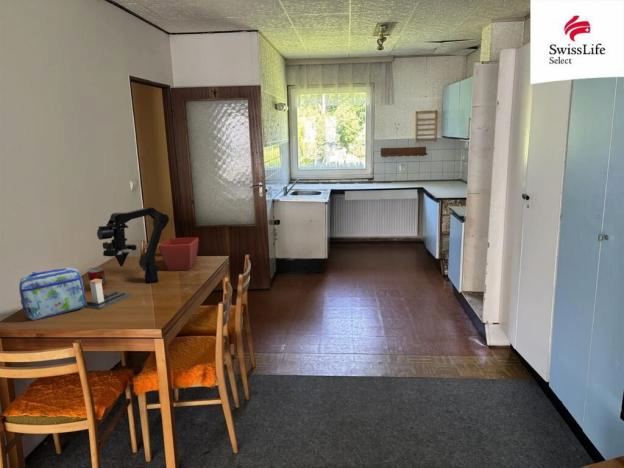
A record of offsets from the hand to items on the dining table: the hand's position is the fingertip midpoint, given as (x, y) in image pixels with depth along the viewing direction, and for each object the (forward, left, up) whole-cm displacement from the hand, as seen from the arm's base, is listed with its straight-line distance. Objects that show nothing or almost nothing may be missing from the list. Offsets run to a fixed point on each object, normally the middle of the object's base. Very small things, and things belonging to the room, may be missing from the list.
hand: (121, 266), depth 247 cm
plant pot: (-31, -29, -13) cm, 45 cm away
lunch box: (+29, +23, -13) cm, 39 cm away
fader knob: (+11, +19, -12) cm, 25 cm away
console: (+7, +15, -13) cm, 21 cm away
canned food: (+14, -8, -13) cm, 21 cm away
